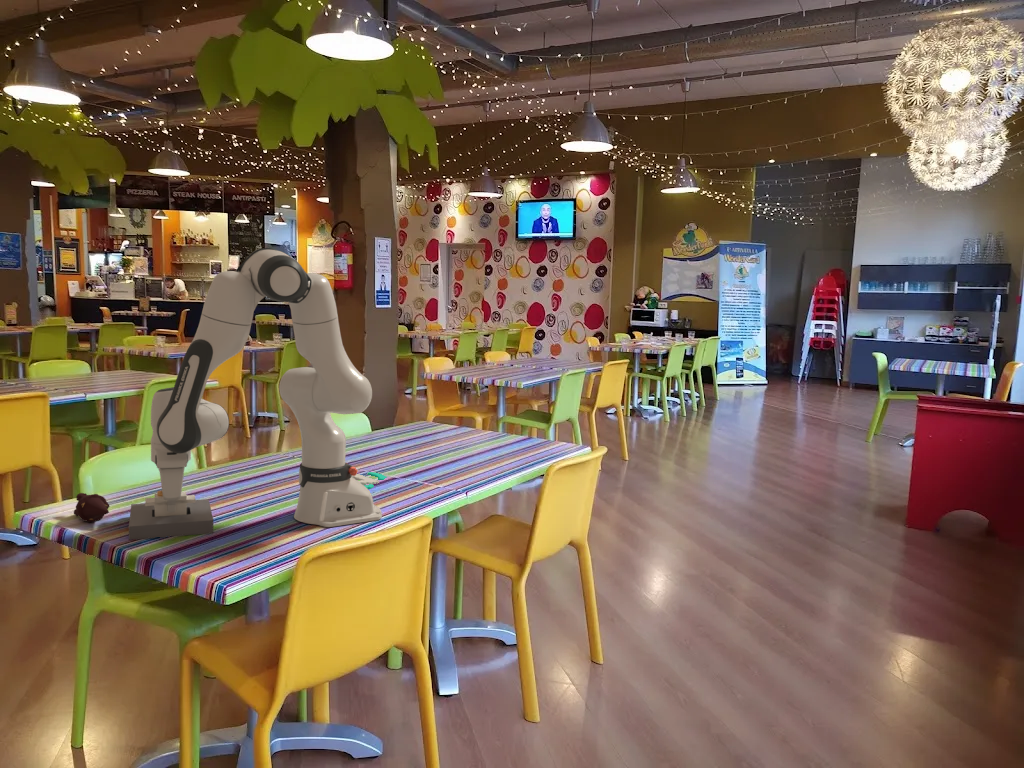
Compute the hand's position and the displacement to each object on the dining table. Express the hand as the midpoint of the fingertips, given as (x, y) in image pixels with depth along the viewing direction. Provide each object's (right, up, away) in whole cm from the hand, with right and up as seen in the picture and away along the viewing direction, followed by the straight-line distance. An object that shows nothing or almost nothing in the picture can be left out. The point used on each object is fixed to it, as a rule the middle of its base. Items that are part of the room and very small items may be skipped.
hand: (171, 508), depth 181 cm
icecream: (-19, -3, 0) cm, 20 cm away
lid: (+33, -1, +49) cm, 59 cm away
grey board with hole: (0, -4, +1) cm, 4 cm away
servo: (0, -2, 0) cm, 2 cm away
